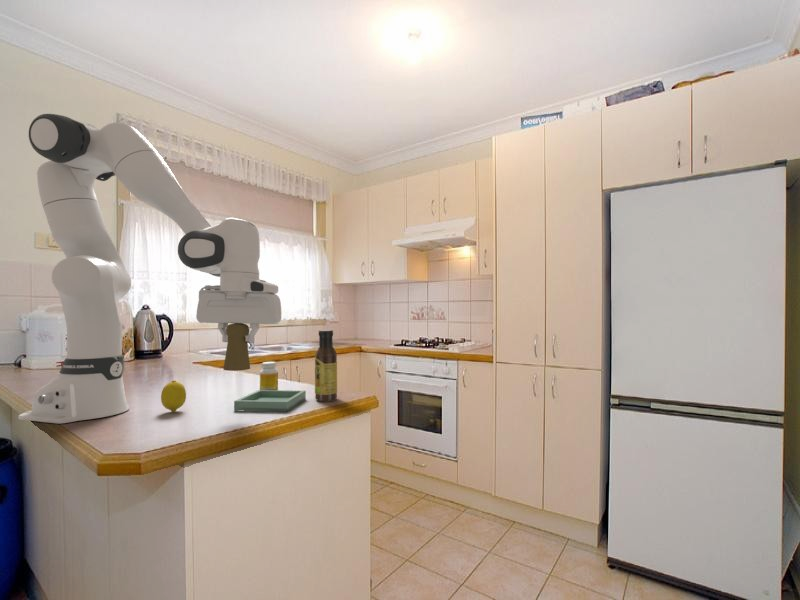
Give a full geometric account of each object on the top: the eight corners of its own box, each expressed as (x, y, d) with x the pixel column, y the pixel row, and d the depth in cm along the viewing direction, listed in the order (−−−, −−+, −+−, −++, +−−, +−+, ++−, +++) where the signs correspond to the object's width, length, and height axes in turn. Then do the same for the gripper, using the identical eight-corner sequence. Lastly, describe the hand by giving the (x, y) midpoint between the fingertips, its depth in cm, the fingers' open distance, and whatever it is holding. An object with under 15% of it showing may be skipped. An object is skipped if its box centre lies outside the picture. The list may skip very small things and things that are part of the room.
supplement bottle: (257, 393, 124) (257, 362, 124) (275, 391, 127) (275, 360, 127) (261, 396, 119) (262, 364, 120) (280, 394, 122) (280, 362, 122)
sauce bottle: (315, 397, 117) (315, 329, 117) (337, 396, 118) (336, 329, 118) (314, 402, 110) (314, 330, 111) (337, 401, 111) (337, 330, 112)
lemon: (155, 413, 100) (156, 381, 100) (175, 408, 105) (175, 377, 105) (171, 415, 98) (171, 382, 98) (191, 410, 103) (191, 379, 103)
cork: (239, 371, 93) (240, 324, 93) (217, 369, 95) (218, 323, 95) (255, 367, 99) (256, 323, 99) (234, 366, 101) (235, 322, 101)
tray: (234, 410, 102) (234, 401, 102) (258, 398, 116) (258, 390, 116) (287, 411, 101) (287, 401, 101) (305, 399, 115) (305, 390, 115)
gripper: (191, 284, 95) (189, 342, 95) (274, 285, 94) (273, 344, 93) (206, 286, 102) (205, 340, 101) (284, 286, 100) (283, 342, 99)
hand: (238, 342), depth 97 cm, fingers closed on cork, 4 cm apart
